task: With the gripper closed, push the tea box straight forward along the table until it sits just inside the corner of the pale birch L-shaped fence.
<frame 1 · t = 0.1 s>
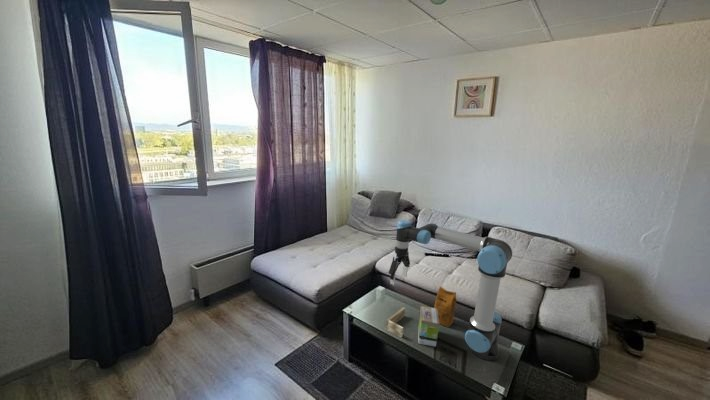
hand: (398, 280, 172), 28 cm above the table, fingers open, 13 cm apart
coffee package: (442, 321, 181), on the table
birch corner fence: (395, 322, 177), on the table
tea box: (426, 337, 166), on the table
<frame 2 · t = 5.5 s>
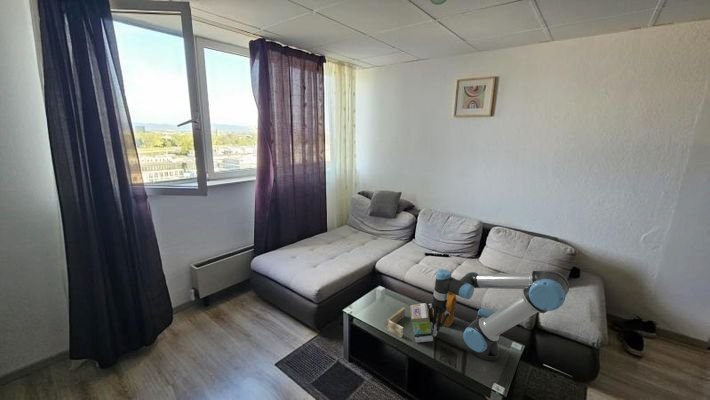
hand: (434, 334, 162), 4 cm above the table, fingers closed
tea box: (423, 333, 166), point 1 cm above the table, touching gripper, hand
everything else where it was.
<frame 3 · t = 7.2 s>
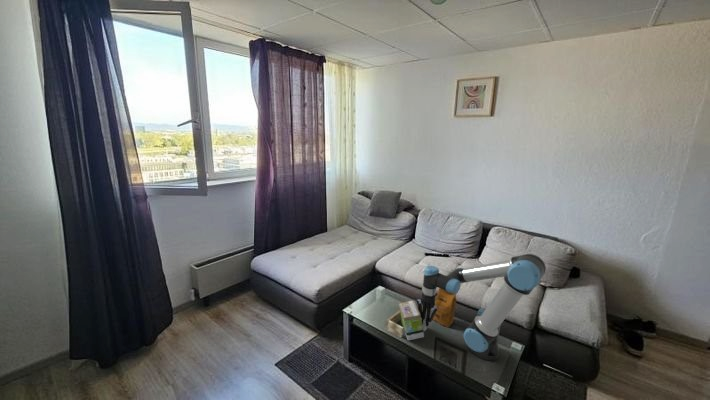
hand: (424, 329, 166), 3 cm above the table, fingers closed
tea box: (412, 330, 168), point 1 cm above the table, touching gripper, hand
everything else where it was.
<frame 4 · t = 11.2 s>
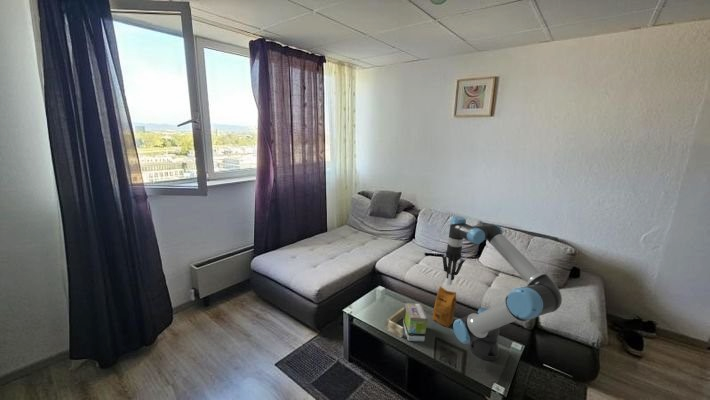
hand: (449, 284, 161), 32 cm above the table, fingers closed
tea box: (413, 332, 168), on the table
everything else where it was.
at the end: tea box inside the target area (2.9 cm from its centre), on the table; tea box tilted 0° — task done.
